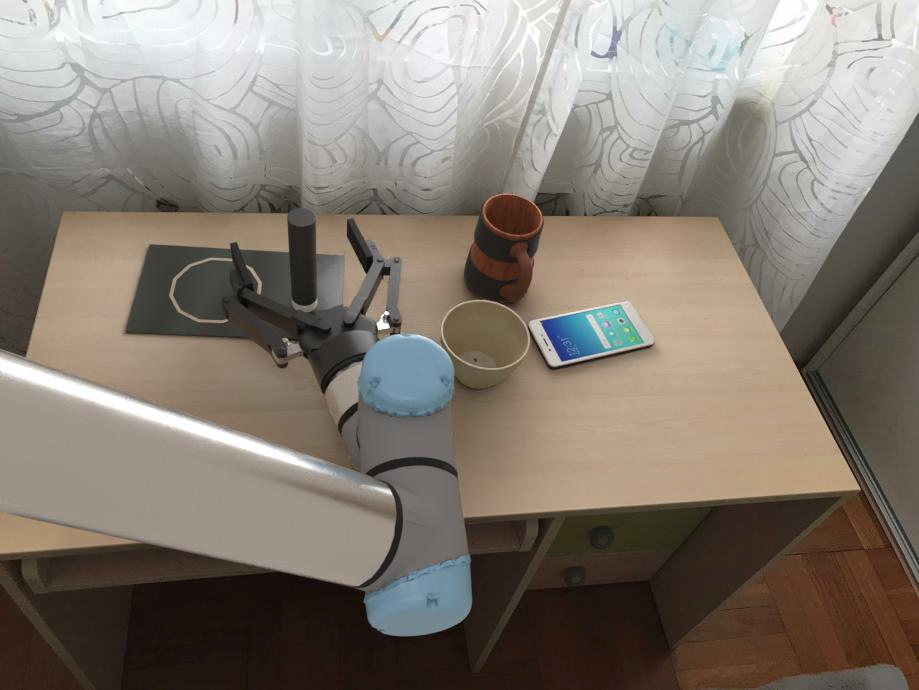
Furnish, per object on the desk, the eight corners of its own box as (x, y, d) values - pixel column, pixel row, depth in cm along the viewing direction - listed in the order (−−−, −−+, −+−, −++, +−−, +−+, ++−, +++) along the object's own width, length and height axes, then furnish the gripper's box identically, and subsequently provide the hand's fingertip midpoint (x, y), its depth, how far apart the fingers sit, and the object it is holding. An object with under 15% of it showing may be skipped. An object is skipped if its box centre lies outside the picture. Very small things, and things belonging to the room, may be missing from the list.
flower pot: (503, 418, 84) (516, 382, 79) (421, 388, 85) (428, 350, 80) (527, 354, 90) (540, 316, 85) (450, 327, 91) (457, 288, 86)
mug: (481, 330, 92) (498, 264, 83) (455, 261, 99) (468, 193, 89) (545, 321, 94) (569, 256, 85) (515, 254, 101) (534, 187, 92)
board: (125, 333, 84) (124, 331, 84) (150, 245, 93) (149, 243, 93) (339, 342, 88) (339, 340, 87) (344, 256, 96) (344, 255, 96)
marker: (291, 312, 89) (285, 225, 78) (293, 293, 91) (288, 206, 80) (316, 313, 89) (314, 227, 79) (318, 294, 91) (316, 208, 80)
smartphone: (657, 343, 93) (551, 367, 88) (655, 347, 94) (549, 371, 89) (629, 299, 97) (526, 320, 92) (627, 303, 98) (525, 325, 93)
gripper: (237, 437, 73) (187, 285, 84) (464, 369, 82) (392, 240, 93) (229, 394, 67) (176, 237, 78) (474, 326, 77) (396, 194, 87)
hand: (293, 238), depth 86 cm, fingers open, 13 cm apart
